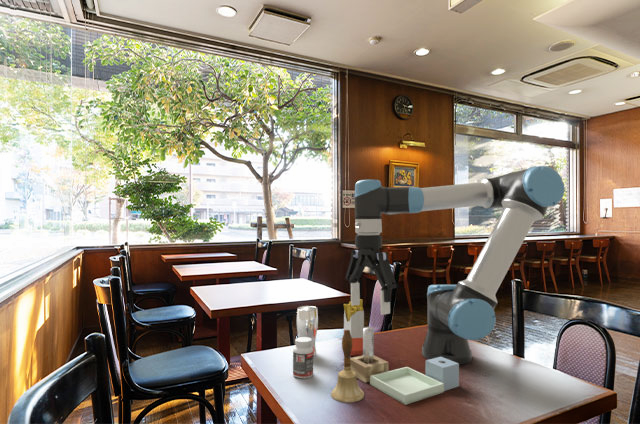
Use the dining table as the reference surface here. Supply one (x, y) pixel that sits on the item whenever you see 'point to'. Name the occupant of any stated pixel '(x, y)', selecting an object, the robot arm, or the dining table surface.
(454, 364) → the slate-blue block
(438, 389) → the tray
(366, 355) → the cylinder
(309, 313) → the beer glass
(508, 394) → the dining table surface
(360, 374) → the oak block
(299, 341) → the pill bottle
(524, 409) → the dining table surface
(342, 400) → the hand bell
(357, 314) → the french fries container
